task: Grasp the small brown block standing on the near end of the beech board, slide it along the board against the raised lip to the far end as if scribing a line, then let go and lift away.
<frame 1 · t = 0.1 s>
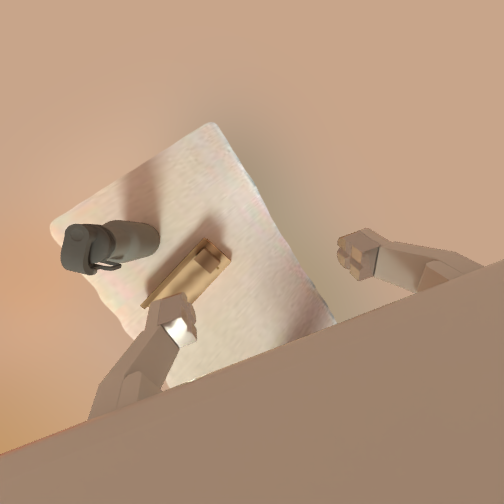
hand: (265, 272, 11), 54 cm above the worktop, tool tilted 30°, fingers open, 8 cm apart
brown block: (208, 259, 62), point 2 cm above the worktop, touching board
water bottle: (143, 240, 61), on the worktop
board: (190, 281, 64), on the worktop
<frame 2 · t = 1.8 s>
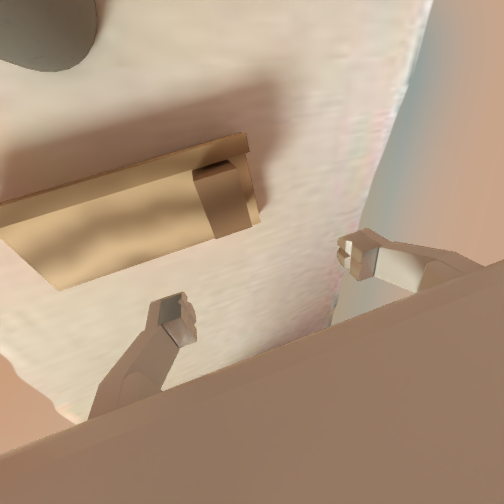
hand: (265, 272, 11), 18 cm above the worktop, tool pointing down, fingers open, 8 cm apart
brown block: (218, 191, 24), point 2 cm above the worktop, touching board
board: (146, 214, 25), on the worktop
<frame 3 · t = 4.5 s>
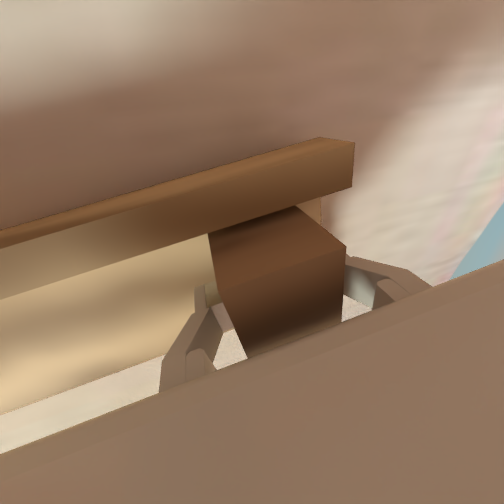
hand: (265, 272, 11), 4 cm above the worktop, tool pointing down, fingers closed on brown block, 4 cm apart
brown block: (256, 255, 12), point 2 cm above the worktop, touching board, gripper
board: (112, 290, 13), on the worktop
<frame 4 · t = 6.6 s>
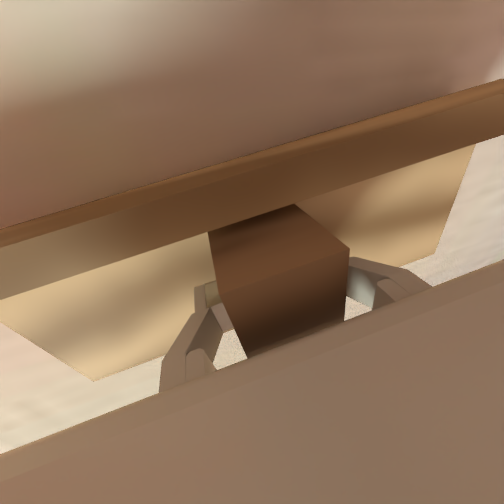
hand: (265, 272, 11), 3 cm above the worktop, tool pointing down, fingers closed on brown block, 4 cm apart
brown block: (257, 256, 12), point 2 cm above the worktop, touching gripper
board: (254, 242, 14), on the worktop
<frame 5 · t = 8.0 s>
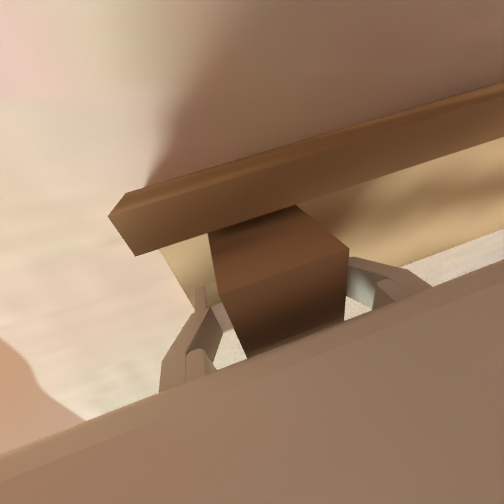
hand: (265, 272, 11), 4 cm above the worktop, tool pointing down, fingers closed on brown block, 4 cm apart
brown block: (257, 256, 12), point 2 cm above the worktop, touching gripper
board: (365, 205, 14), on the worktop
when the fingers open (4 cm above the worktop, at t = 9.2 s): brown block stays where it is, resting on board.
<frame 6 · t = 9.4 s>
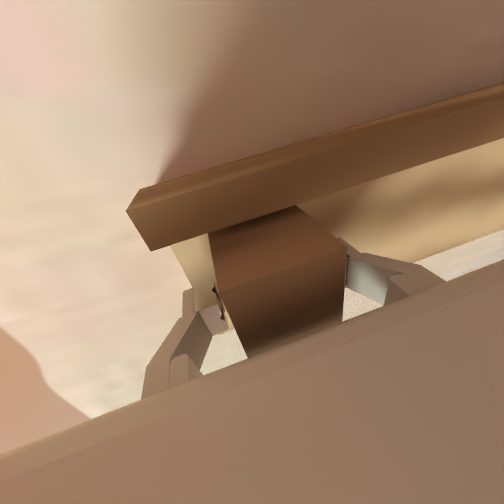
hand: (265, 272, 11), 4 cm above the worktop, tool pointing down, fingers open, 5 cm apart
brown block: (257, 255, 12), point 2 cm above the worktop, touching board
board: (371, 204, 15), on the worktop
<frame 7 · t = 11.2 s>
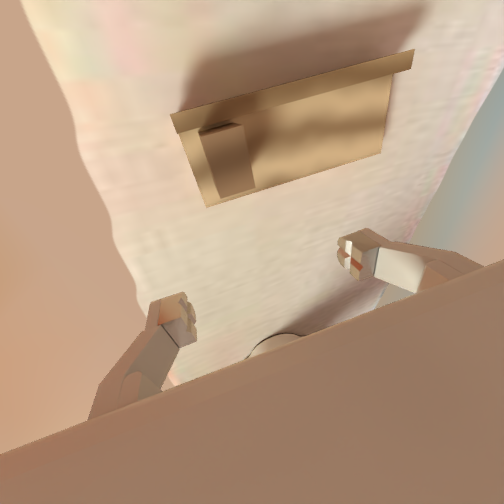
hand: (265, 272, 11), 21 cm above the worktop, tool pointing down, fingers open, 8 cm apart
brown block: (223, 155, 25), point 2 cm above the worktop, touching board
board: (287, 137, 27), on the worktop
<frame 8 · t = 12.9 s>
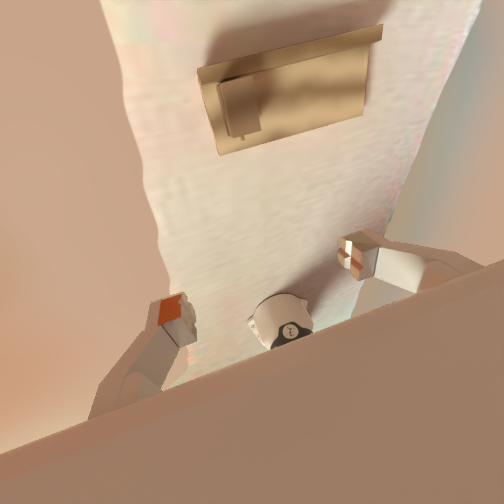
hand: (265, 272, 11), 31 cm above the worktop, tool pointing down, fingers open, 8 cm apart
brown block: (235, 109, 31), point 2 cm above the worktop, touching board
board: (286, 99, 34), on the worktop
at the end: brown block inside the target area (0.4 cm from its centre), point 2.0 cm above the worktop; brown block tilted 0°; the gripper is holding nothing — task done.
